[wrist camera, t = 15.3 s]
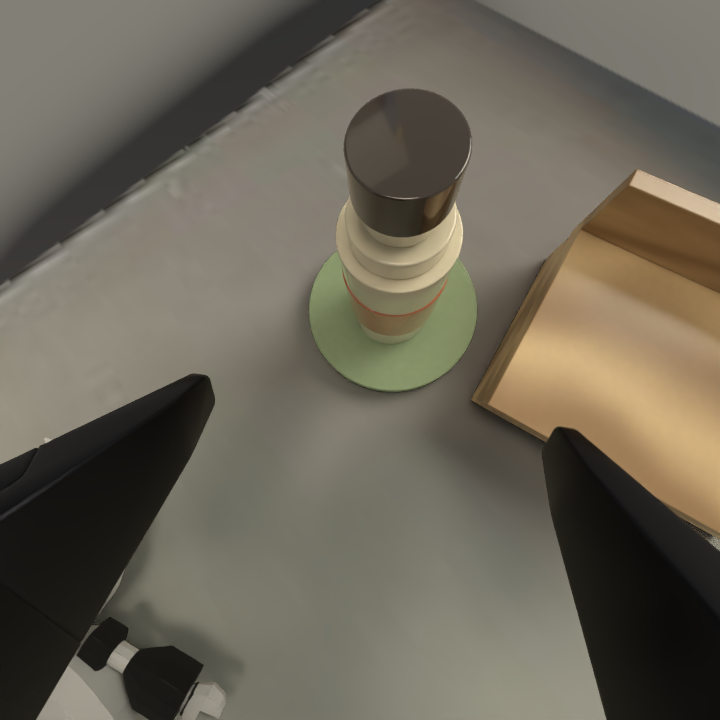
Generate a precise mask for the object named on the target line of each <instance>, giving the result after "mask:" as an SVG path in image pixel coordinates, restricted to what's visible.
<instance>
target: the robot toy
mask: <svg viewBox="0 0 720 720" xmlns="http://www.w3.org/2000/svg"><path fill="white" fill-rule="evenodd" d="M51 440H53V439H49V438H45V443H47V442H49V441H51ZM124 571H125V569H124ZM124 571H123V573H124ZM123 573H122V575H121V576H120V578H119V580H118V581H117V583H116V585H115V586H114V588H113V590H112V591H111V593H110V595H109V597H108V598H107V600H106V602H105V603H104V605H103V607H102V608H101V610H100V612H101V611H102V609H103V608H104V607H105V606H106V604H107V603H108V602H109V600H110V599H111V598H112V596H113V595H114V593H115V592H116V590H117V588H118V587H119V585H120V582H121V579H122V576H123ZM100 612H99V613H100ZM98 615H99V614H98ZM98 615H97V616H98ZM127 633H128V628H127V627H126V626H124V625H123V624H121V623H119V622H118V621H116V620H114V619H113V618H111V617H109V618H108V619H106V620H105V621H103V622H102V623H101V624H100V625H92V626H91V627H90V629H89V631H88V632H87V634H86V636H85V637H84V639H83V640H82V641H81V645H80V646H79V648H78V650H77V651H76V653H75V655H74V657H73V658H72V660H71V662H70V663H69V665H68V667H67V668H66V670H65V672H64V674H63V675H62V677H61V679H60V680H59V682H58V684H57V685H56V687H55V689H54V691H53V692H52V694H51V696H50V697H49V699H48V701H47V702H46V704H45V706H44V707H43V709H42V711H41V713H40V714H39V716H38V718H37V719H36V720H174V718H175V716H176V715H177V713H178V711H179V710H180V715H181V717H182V719H183V720H218V718H219V717H220V715H221V713H222V711H223V709H224V707H225V705H226V693H225V692H224V691H223V690H222V689H221V688H220V686H219V685H218V684H217V683H216V682H197V683H195V681H196V679H197V677H198V675H199V674H200V672H201V670H202V668H203V666H204V665H203V664H201V663H200V662H198V661H197V660H195V659H193V658H192V657H190V656H188V655H187V654H185V653H184V652H182V651H180V650H179V649H177V648H175V647H174V646H165V647H153V648H147V649H141V650H139V649H137V648H135V647H134V646H132V645H130V644H129V643H127V642H126V641H125V639H126V637H127Z"/></svg>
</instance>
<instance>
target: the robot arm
mask: <svg viewBox="0 0 720 720" xmlns="http://www.w3.org/2000/svg"><path fill="white" fill-rule="evenodd" d="M214 404H215V397H214V393H213V389H212V385H211V381H210V378H209V377H208V376H206V375H202V374H190V375H188V376H186V377H184V378H181V379H179V380H177V381H175V382H173V383H171V384H169V385H167V386H165V387H163V388H160V389H158V390H156V391H154V392H152V393H150V394H148V395H146V396H144V397H142V398H140V399H137V400H135V401H133V402H131V403H129V404H127V405H125V406H123V407H121V408H119V409H116V410H114V411H112V412H110V413H108V414H106V415H104V416H102V417H100V418H98V419H95V420H93V421H91V422H89V423H87V424H85V425H83V426H81V427H79V428H77V429H74V430H72V431H70V432H68V433H66V434H64V435H62V436H60V437H58V438H56V439H53V440H51V441H49V442H47V443H45V444H43V445H41V446H40V447H39V448H34V449H32V450H30V451H28V452H26V453H24V454H22V455H20V456H18V457H16V458H13V459H11V460H9V461H7V462H5V463H3V464H0V720H36V719H37V718H38V716H39V714H40V713H41V711H42V709H43V707H44V706H45V704H46V702H47V701H48V699H49V697H50V696H51V694H52V692H53V691H54V689H55V687H56V685H57V684H58V682H59V680H60V679H61V677H62V675H63V674H64V672H65V670H66V668H67V667H68V665H69V663H70V662H71V660H72V658H73V657H74V655H75V653H76V651H77V650H78V648H79V646H80V645H81V641H82V640H83V639H84V637H85V636H86V634H87V632H88V631H89V629H90V627H91V625H92V624H93V622H94V620H95V619H96V617H97V615H98V614H99V612H100V610H101V608H102V607H103V605H104V603H105V602H106V600H107V598H108V597H109V595H110V593H111V591H112V590H113V588H114V586H115V585H116V583H117V581H118V580H119V578H120V576H121V575H122V573H123V571H124V569H125V568H126V566H127V564H128V563H129V561H130V559H131V558H132V556H133V554H134V552H135V551H136V549H137V547H138V546H139V544H140V542H141V541H142V539H143V537H144V535H145V534H146V532H147V530H148V529H149V527H150V525H151V524H152V522H153V520H154V518H155V517H156V515H157V513H158V512H159V510H160V508H161V507H162V505H163V503H164V501H165V500H166V498H167V496H168V495H169V493H170V491H171V490H172V488H173V486H174V484H175V483H176V481H177V479H178V478H179V476H180V474H181V473H182V471H183V469H184V468H185V466H186V464H187V462H188V461H189V459H190V457H191V455H192V453H193V451H194V449H195V447H196V445H197V443H198V440H199V438H200V436H201V434H202V432H203V429H204V427H205V425H206V423H207V420H208V418H209V416H210V414H211V412H212V409H213V407H214ZM542 459H543V466H544V473H545V479H546V486H547V492H548V499H549V505H550V511H551V516H552V520H553V524H554V528H555V531H556V535H557V539H558V542H559V546H560V550H561V554H562V557H563V561H564V565H565V568H566V572H567V576H568V579H569V583H570V587H571V590H572V594H573V598H574V601H575V605H576V609H577V612H578V616H579V620H580V624H581V627H582V631H583V635H584V638H585V642H586V646H587V649H588V653H589V657H590V660H591V664H592V668H593V671H594V675H595V679H596V683H597V686H598V690H599V694H600V697H601V701H602V705H603V708H604V712H605V716H606V719H607V720H720V551H719V550H718V549H716V548H715V547H714V546H713V545H712V544H710V543H709V542H708V541H707V540H706V539H705V538H703V537H702V536H701V535H700V534H699V533H698V532H696V531H695V530H694V529H693V528H692V527H691V526H689V525H688V524H687V523H686V522H685V521H683V520H682V519H681V518H680V517H679V516H678V515H676V514H675V513H674V512H673V511H672V510H671V509H669V508H668V507H667V506H666V505H665V504H664V503H662V502H661V501H660V500H659V499H658V498H656V497H655V496H654V495H653V494H652V493H651V492H649V491H648V490H647V489H646V488H645V487H644V486H642V485H641V484H640V483H639V482H638V481H637V480H635V479H634V478H633V477H632V476H631V475H630V474H628V473H627V472H626V471H625V470H624V469H622V468H621V467H620V466H619V465H618V464H617V463H615V462H614V461H613V460H612V459H611V458H610V457H608V456H607V455H606V454H605V453H604V452H603V451H601V450H600V449H599V448H598V447H597V446H595V445H594V444H593V443H592V442H591V441H590V440H588V439H587V438H586V437H585V436H584V435H583V434H581V433H580V432H579V431H578V430H576V429H574V428H569V427H562V426H557V427H556V428H554V430H553V431H552V433H551V435H550V437H549V438H548V440H547V442H546V443H545V445H544V447H543V450H542Z"/></svg>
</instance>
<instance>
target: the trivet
mask: <svg viewBox="0 0 720 720" xmlns="http://www.w3.org/2000/svg"><path fill="white" fill-rule="evenodd" d="M309 320H310V326H311V330H312V335H313V337H314V340H315V342H316V345H317V346H318V348H319V350H320V352H321V353H322V355H323V356H324V357H325V359H326V360H327V361H328V363H329V364H330V365H331V366H332V367H333V368H334V369H335V370H336V371H337V372H339V373H340V374H341V375H342V376H344V377H345V378H346V379H348V380H350V381H352V382H353V383H355V384H357V385H360V386H362V387H365V388H368V389H371V390H375V391H382V392H402V391H409V390H413V389H417V388H420V387H422V386H425V385H427V384H429V383H431V382H433V381H435V380H436V379H438V378H440V377H441V376H442V375H444V374H445V373H446V372H448V371H449V370H450V369H451V368H452V367H453V366H454V365H455V364H456V363H457V362H458V361H459V360H460V358H461V357H462V356H463V354H464V353H465V351H466V349H467V347H468V346H469V344H470V342H471V339H472V336H473V334H474V330H475V326H476V320H477V300H476V294H475V290H474V287H473V284H472V281H471V279H470V277H469V275H468V273H467V271H466V269H465V268H464V266H463V265H462V263H461V262H460V261H459V259H458V258H457V260H456V262H455V264H454V266H453V268H452V270H451V272H450V274H449V276H448V280H447V283H446V285H445V288H444V290H443V292H442V294H441V296H440V298H439V300H438V302H437V304H436V306H435V308H434V310H433V312H432V313H431V315H430V317H429V318H428V319H427V321H426V323H425V325H424V327H423V328H422V330H421V331H420V332H419V333H418V334H417V335H416V336H414V337H413V338H411V339H410V340H408V341H405V342H402V343H398V344H385V343H381V342H378V341H375V340H373V339H371V338H370V337H368V336H367V335H366V334H365V333H364V332H363V331H362V330H361V328H360V327H359V325H358V324H357V321H356V318H355V315H354V312H353V310H352V307H351V304H350V300H349V297H348V293H347V289H346V286H345V282H344V278H343V272H342V265H341V262H340V258H339V254H338V250H337V251H336V252H335V253H334V254H333V255H332V256H331V257H330V258H329V259H328V260H327V261H326V263H325V264H324V265H323V267H322V268H321V270H320V272H319V273H318V275H317V277H316V280H315V282H314V284H313V288H312V291H311V295H310V301H309Z"/></svg>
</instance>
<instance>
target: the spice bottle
mask: <svg viewBox="0 0 720 720" xmlns="http://www.w3.org/2000/svg"><path fill="white" fill-rule="evenodd" d="M471 152H472V136H471V131H470V128H469V125H468V122H467V120H466V118H465V117H464V115H463V114H462V112H461V111H460V110H459V109H458V108H457V107H456V106H455V104H453V103H452V102H451V101H449V100H448V99H446V98H445V97H443V96H441V95H439V94H437V93H434V92H431V91H428V90H423V89H415V88H405V89H397V90H392V91H389V92H386V93H383V94H381V95H379V96H377V97H375V98H373V99H371V100H370V101H369V102H367V103H366V104H365V105H364V106H362V107H361V108H360V109H359V111H358V112H357V113H356V114H355V115H354V117H353V118H352V120H351V122H350V124H349V126H348V128H347V131H346V134H345V139H344V157H345V164H346V171H347V178H348V185H349V192H350V196H349V198H348V201H347V202H346V204H345V205H344V207H343V209H342V211H341V213H340V215H339V218H338V221H337V225H336V236H335V239H336V246H337V250H338V254H339V258H340V262H341V265H342V272H343V278H344V282H345V286H346V289H347V293H348V297H349V300H350V304H351V307H352V310H353V312H354V315H355V318H356V321H357V324H358V325H359V327H360V328H361V330H362V331H363V332H364V333H365V334H366V335H367V336H368V337H370V338H371V339H373V340H375V341H378V342H381V343H385V344H398V343H402V342H405V341H408V340H410V339H411V338H413V337H414V336H416V335H417V334H418V333H419V332H420V331H421V330H422V328H423V327H424V325H425V323H426V321H427V319H428V318H429V317H430V315H431V313H432V312H433V310H434V308H435V306H436V304H437V302H438V300H439V298H440V296H441V294H442V292H443V290H444V288H445V285H446V283H447V280H448V276H449V274H450V272H451V270H452V268H453V266H454V264H455V262H456V260H457V258H458V256H459V253H460V251H461V247H462V242H463V226H462V221H461V217H460V214H459V212H458V210H457V208H456V203H455V200H456V198H457V195H458V192H459V189H460V186H461V183H462V180H463V178H464V175H465V172H466V169H467V166H468V163H469V160H470V156H471Z"/></svg>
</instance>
